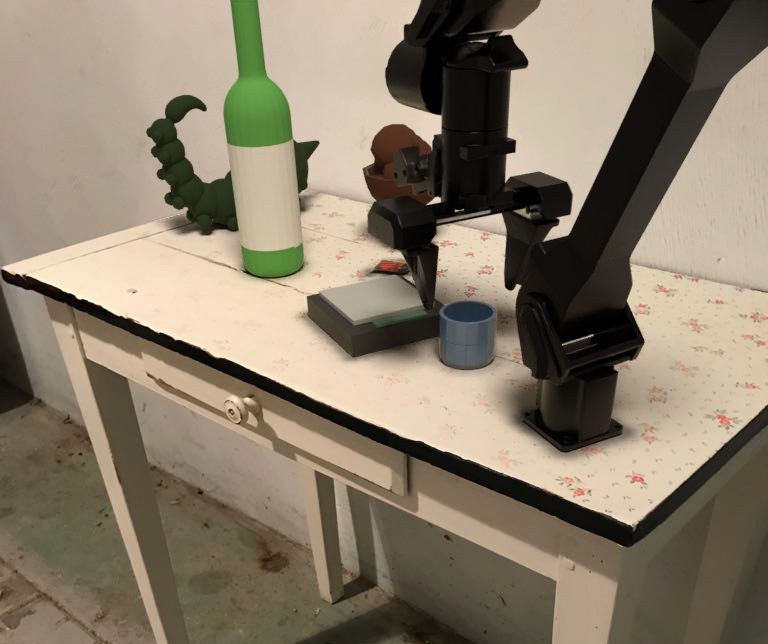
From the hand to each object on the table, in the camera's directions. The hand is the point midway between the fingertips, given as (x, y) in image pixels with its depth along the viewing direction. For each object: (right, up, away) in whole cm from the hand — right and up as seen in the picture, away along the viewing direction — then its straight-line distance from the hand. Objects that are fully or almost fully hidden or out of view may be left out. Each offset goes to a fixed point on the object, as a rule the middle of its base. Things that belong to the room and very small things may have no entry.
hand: (469, 298), depth 80 cm
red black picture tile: (-7, +10, +24) cm, 27 cm away
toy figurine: (-28, +22, +42) cm, 55 cm away
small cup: (0, -5, +4) cm, 6 cm away
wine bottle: (-22, +10, +26) cm, 36 cm away
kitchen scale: (-9, 0, +11) cm, 14 cm away
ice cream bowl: (-5, +16, +32) cm, 36 cm away
